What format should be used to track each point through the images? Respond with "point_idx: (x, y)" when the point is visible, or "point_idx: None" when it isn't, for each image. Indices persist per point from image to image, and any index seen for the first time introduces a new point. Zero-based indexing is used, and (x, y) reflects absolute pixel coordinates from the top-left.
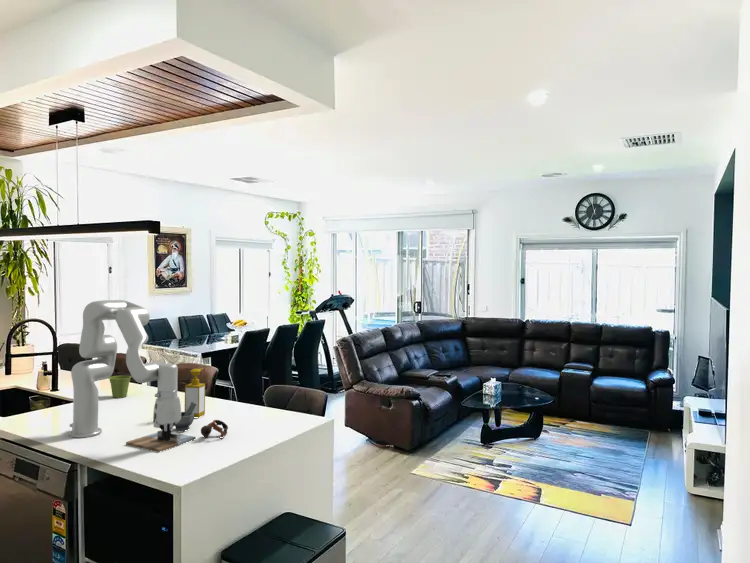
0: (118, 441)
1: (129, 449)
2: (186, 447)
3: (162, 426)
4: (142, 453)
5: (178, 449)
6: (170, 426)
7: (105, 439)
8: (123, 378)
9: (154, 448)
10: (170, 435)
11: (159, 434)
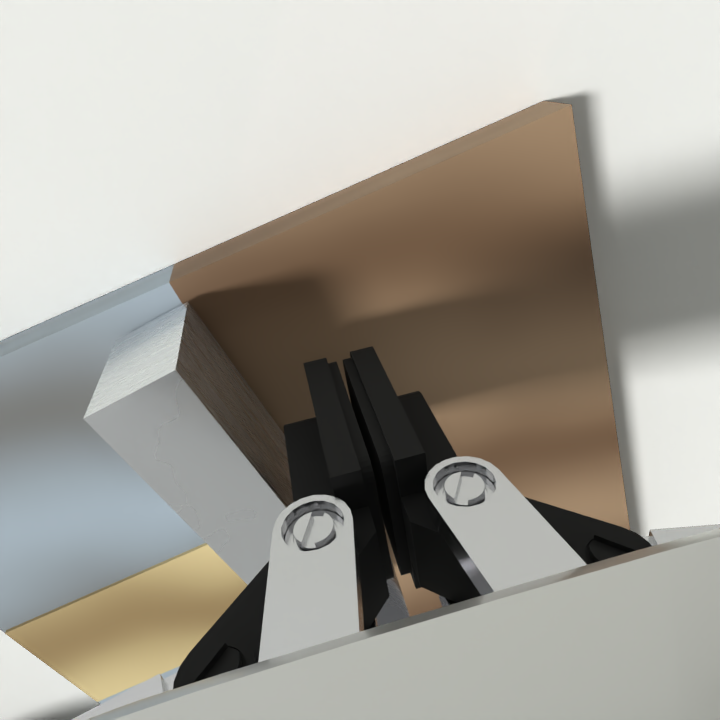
0: None
1: (683, 436)
2: (45, 67)
3: (597, 553)
4: (701, 212)
5: (225, 42)
6: (343, 568)
7: None
8: None
9: (583, 217)
10: (293, 436)
11: (393, 583)
